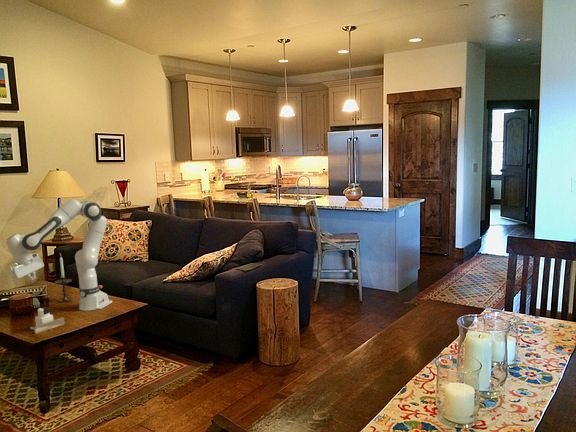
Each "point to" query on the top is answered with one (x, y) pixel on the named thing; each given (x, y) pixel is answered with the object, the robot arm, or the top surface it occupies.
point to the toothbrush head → (36, 303)
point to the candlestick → (63, 283)
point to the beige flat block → (48, 325)
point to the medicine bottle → (43, 316)
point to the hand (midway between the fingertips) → (33, 279)
